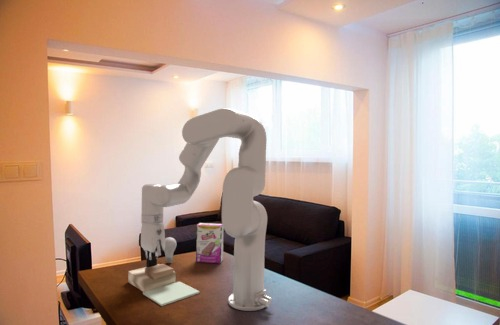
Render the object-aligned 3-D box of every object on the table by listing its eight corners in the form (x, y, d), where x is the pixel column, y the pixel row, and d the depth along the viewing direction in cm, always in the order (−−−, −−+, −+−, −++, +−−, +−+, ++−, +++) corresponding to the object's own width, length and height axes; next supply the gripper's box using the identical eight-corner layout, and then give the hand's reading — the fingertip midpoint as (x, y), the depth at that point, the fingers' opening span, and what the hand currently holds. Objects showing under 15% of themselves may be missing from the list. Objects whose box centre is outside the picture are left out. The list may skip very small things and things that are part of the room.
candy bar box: (195, 262, 138) (196, 224, 138) (198, 259, 143) (199, 222, 143) (221, 264, 137) (221, 225, 137) (223, 260, 142) (223, 223, 142)
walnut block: (173, 275, 112) (173, 268, 112) (154, 280, 107) (154, 273, 107) (162, 270, 117) (163, 263, 117) (144, 274, 112) (144, 268, 112)
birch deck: (175, 282, 116) (175, 271, 116) (144, 292, 107) (144, 280, 107) (158, 274, 124) (158, 263, 124) (128, 282, 116) (128, 271, 115)
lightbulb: (161, 265, 134) (162, 239, 134) (161, 261, 140) (161, 236, 140) (176, 264, 135) (177, 238, 135) (176, 260, 141) (176, 235, 141)
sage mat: (199, 293, 107) (199, 291, 107) (161, 306, 97) (161, 304, 97) (179, 283, 116) (179, 281, 116) (142, 294, 106) (142, 292, 106)
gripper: (172, 220, 113) (171, 272, 113) (151, 214, 124) (151, 262, 124) (153, 223, 108) (152, 277, 108) (132, 216, 118) (132, 266, 118)
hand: (151, 269), depth 116 cm, fingers closed
